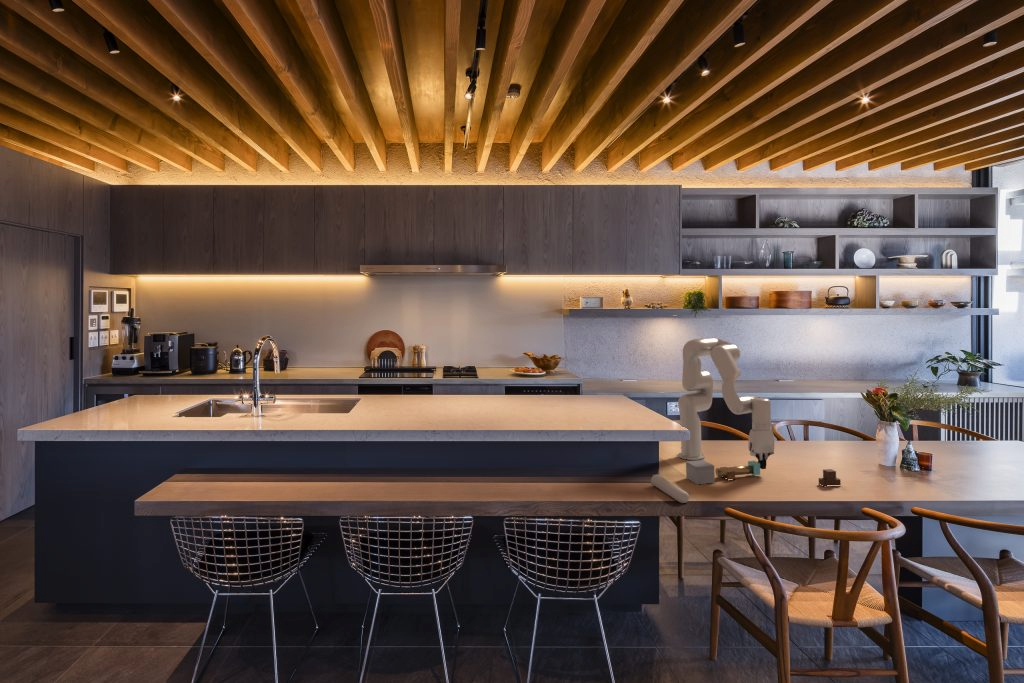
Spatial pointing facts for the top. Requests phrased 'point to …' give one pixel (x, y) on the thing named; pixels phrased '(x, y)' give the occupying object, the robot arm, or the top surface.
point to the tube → (670, 488)
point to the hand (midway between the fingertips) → (762, 468)
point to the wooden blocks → (829, 478)
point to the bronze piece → (740, 469)
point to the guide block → (729, 474)
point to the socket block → (700, 472)
